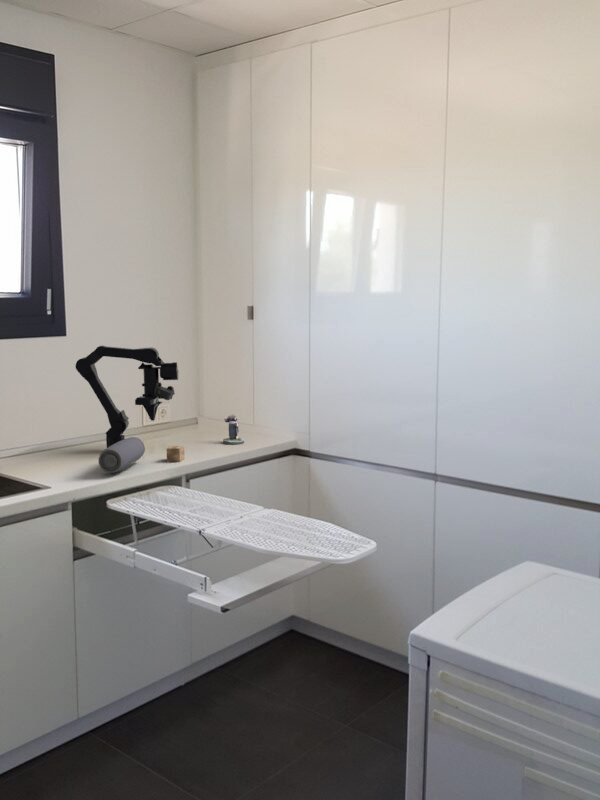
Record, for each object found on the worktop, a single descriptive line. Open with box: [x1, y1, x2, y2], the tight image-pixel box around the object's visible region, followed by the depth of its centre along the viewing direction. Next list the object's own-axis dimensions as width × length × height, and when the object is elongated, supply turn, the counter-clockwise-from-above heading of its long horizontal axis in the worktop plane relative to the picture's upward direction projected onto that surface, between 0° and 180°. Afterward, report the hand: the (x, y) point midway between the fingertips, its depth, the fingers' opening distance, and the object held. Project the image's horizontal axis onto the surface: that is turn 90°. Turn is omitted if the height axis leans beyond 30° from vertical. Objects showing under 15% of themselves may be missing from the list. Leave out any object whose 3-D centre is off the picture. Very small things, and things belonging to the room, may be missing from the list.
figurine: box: [222, 414, 245, 446], centre depth 325 cm, size 8×8×12 cm
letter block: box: [165, 445, 186, 463], centre depth 293 cm, size 5×5×5 cm
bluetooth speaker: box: [98, 436, 146, 474], centre depth 279 cm, size 23×9×10 cm, turn 171°
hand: (152, 420), depth 310 cm, fingers closed
